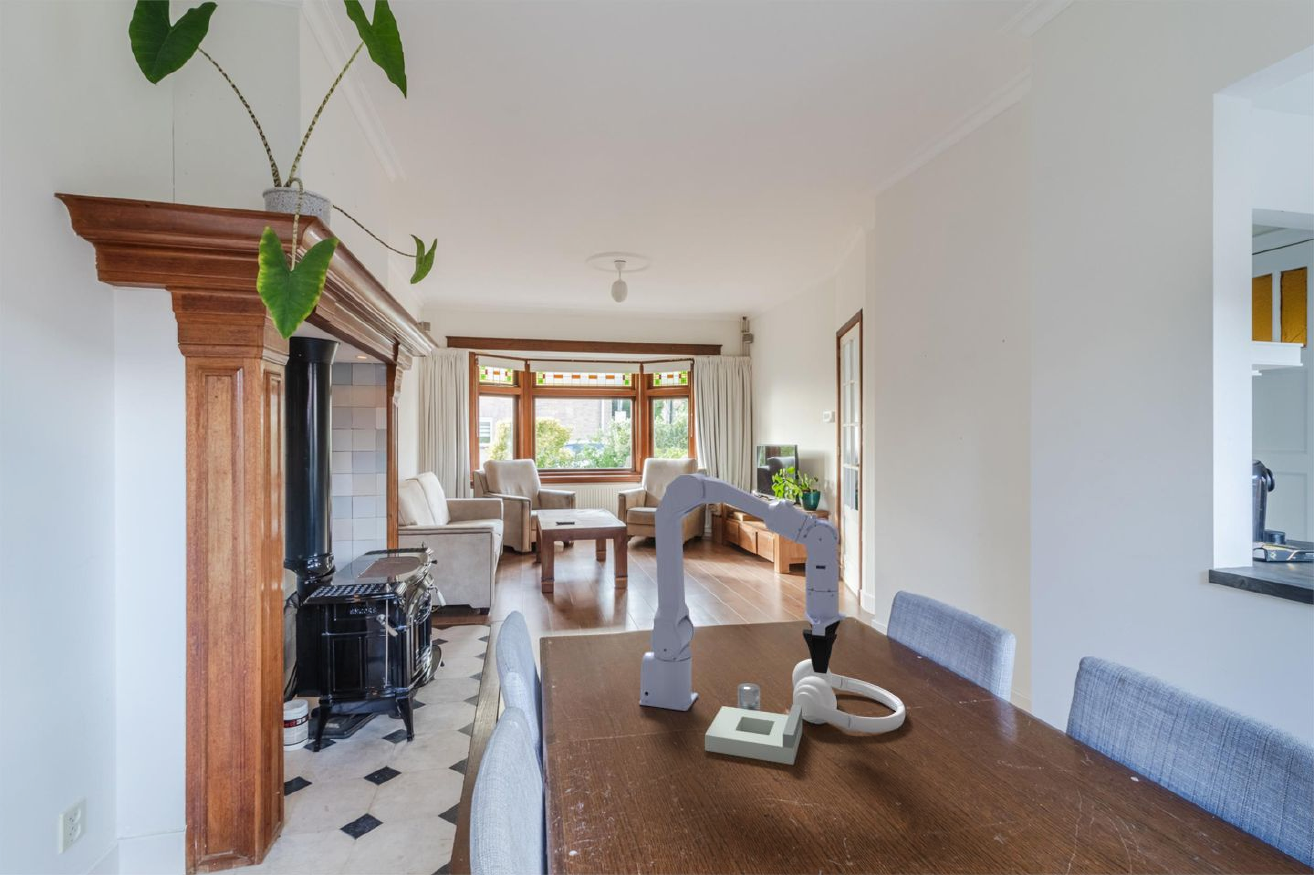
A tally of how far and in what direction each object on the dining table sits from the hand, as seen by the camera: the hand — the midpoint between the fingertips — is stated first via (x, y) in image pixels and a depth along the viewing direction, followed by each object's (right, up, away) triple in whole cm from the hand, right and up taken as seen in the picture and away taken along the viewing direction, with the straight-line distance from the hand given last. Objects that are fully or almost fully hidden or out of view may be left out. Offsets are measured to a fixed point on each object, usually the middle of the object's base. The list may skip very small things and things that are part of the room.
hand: (822, 665), depth 113 cm
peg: (-13, -10, +3) cm, 17 cm away
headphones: (+6, -11, +4) cm, 13 cm away
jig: (-13, -10, -7) cm, 18 cm away
